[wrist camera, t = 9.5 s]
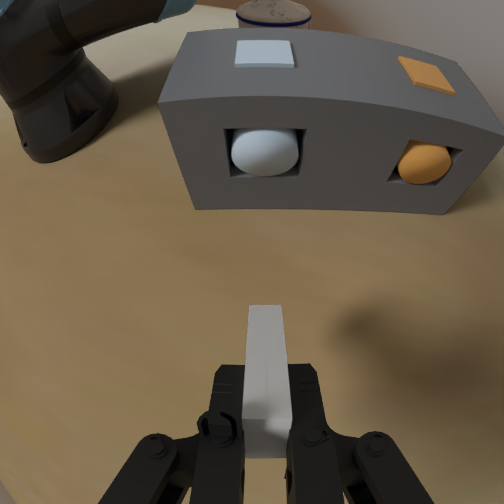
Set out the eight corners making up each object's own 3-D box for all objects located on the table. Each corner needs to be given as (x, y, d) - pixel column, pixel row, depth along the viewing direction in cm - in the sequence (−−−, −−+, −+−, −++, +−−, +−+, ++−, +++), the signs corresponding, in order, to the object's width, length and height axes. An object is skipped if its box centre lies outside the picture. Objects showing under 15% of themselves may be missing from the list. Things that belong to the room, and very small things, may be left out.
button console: (206, 130, 29) (187, 29, 18) (416, 140, 29) (457, 59, 17) (195, 209, 25) (156, 98, 14) (443, 215, 25) (511, 135, 13)
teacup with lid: (275, 90, 32) (277, 6, 21) (225, 66, 35) (218, -7, 24) (330, 61, 35) (340, -6, 24) (283, 41, 38) (285, -21, 27)
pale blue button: (236, 141, 22) (231, 99, 18) (292, 141, 22) (296, 99, 18) (234, 176, 21) (228, 133, 17) (295, 176, 21) (301, 133, 17)
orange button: (381, 148, 22) (397, 110, 18) (423, 153, 22) (443, 120, 18) (391, 181, 21) (412, 144, 16) (435, 186, 20) (460, 153, 16)
